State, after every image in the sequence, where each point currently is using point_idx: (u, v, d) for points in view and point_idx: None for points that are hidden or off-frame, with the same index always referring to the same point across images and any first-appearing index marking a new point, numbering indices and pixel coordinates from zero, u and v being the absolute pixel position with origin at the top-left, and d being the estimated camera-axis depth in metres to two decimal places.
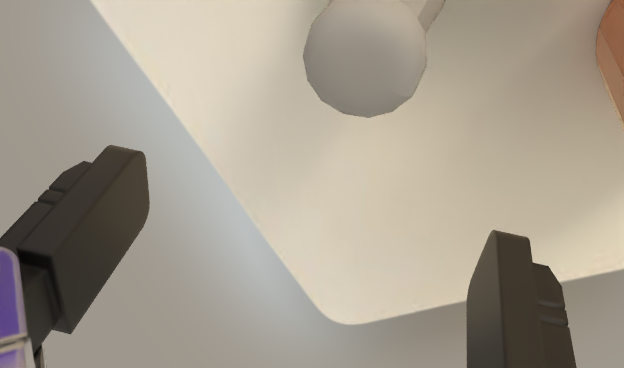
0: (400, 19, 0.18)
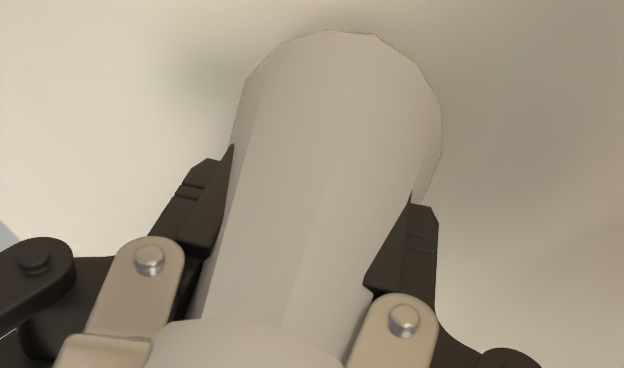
0: None
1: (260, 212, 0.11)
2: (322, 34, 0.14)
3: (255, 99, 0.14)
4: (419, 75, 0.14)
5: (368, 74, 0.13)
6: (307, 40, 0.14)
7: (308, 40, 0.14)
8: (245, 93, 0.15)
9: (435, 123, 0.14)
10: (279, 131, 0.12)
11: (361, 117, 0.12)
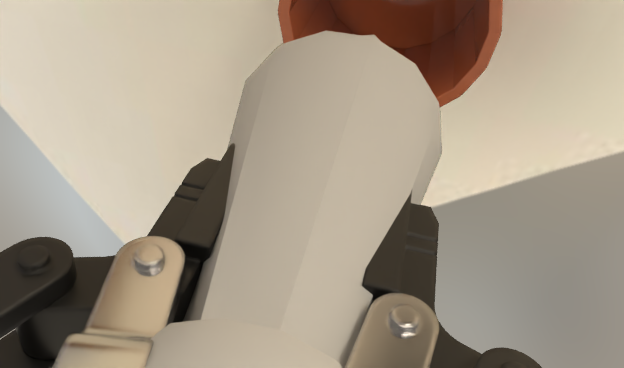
0: None
1: (260, 214, 0.11)
2: (322, 35, 0.14)
3: (255, 100, 0.14)
4: (419, 76, 0.14)
5: (368, 75, 0.13)
6: (307, 41, 0.14)
7: (308, 41, 0.14)
8: (245, 94, 0.15)
9: (435, 124, 0.14)
10: (278, 132, 0.12)
11: (360, 118, 0.12)
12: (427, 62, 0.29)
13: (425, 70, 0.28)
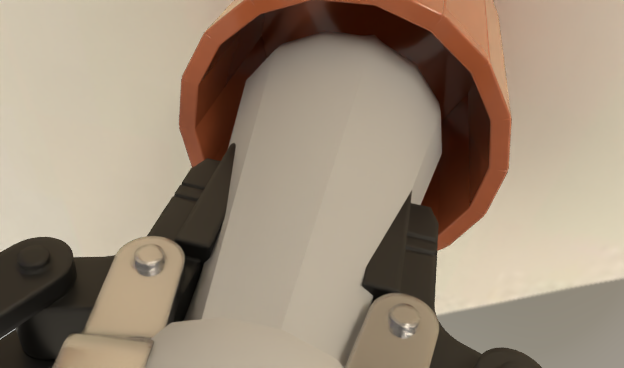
0: None
1: (261, 214, 0.11)
2: (322, 35, 0.14)
3: (256, 100, 0.14)
4: (419, 76, 0.14)
5: (369, 76, 0.13)
6: (307, 41, 0.14)
7: (308, 41, 0.14)
8: (245, 94, 0.15)
9: (435, 124, 0.14)
10: (279, 132, 0.12)
11: (361, 118, 0.12)
12: None
13: None
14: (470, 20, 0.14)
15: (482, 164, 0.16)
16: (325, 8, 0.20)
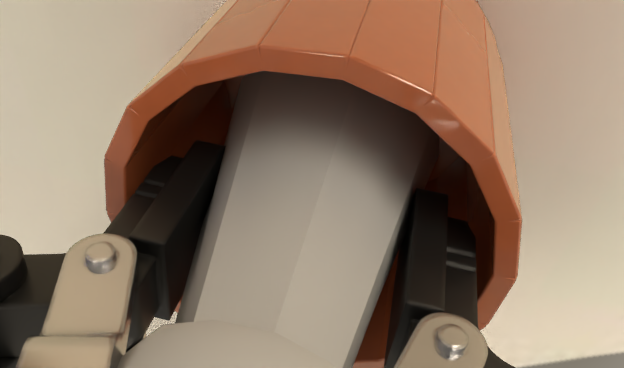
0: None
1: (254, 214, 0.10)
2: None
3: (251, 98, 0.14)
4: None
5: None
6: None
7: None
8: (241, 93, 0.15)
9: None
10: (274, 131, 0.12)
11: (357, 117, 0.12)
12: None
13: None
14: (469, 92, 0.11)
15: (484, 263, 0.13)
16: None
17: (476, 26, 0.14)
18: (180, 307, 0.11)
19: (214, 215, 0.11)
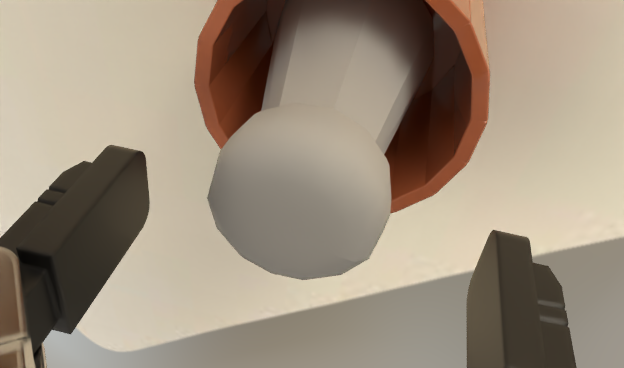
0: (348, 158, 0.12)
1: (310, 64, 0.16)
2: None
3: (297, 6, 0.19)
4: None
5: None
6: None
7: None
8: (287, 6, 0.20)
9: (429, 29, 0.19)
10: (318, 20, 0.17)
11: (376, 12, 0.17)
12: (396, 135, 0.23)
13: (393, 147, 0.22)
14: None
15: (465, 118, 0.18)
16: None
17: None
18: None
19: (278, 73, 0.16)
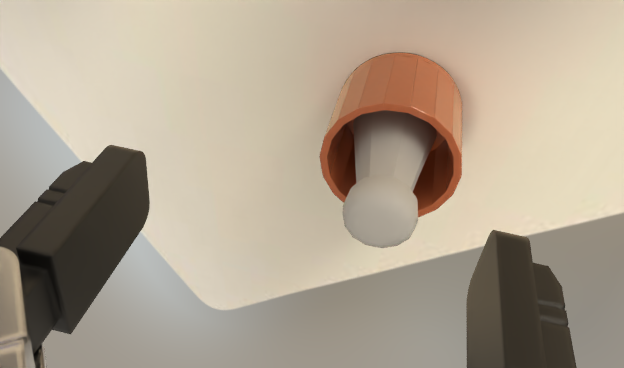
0: (402, 199, 0.31)
1: (380, 152, 0.35)
2: None
3: (368, 116, 0.38)
4: None
5: None
6: None
7: None
8: None
9: None
10: (381, 128, 0.36)
11: (408, 123, 0.37)
12: None
13: None
14: (445, 115, 0.35)
15: (451, 173, 0.37)
16: None
17: (450, 89, 0.39)
18: (356, 181, 0.35)
19: (364, 154, 0.36)
